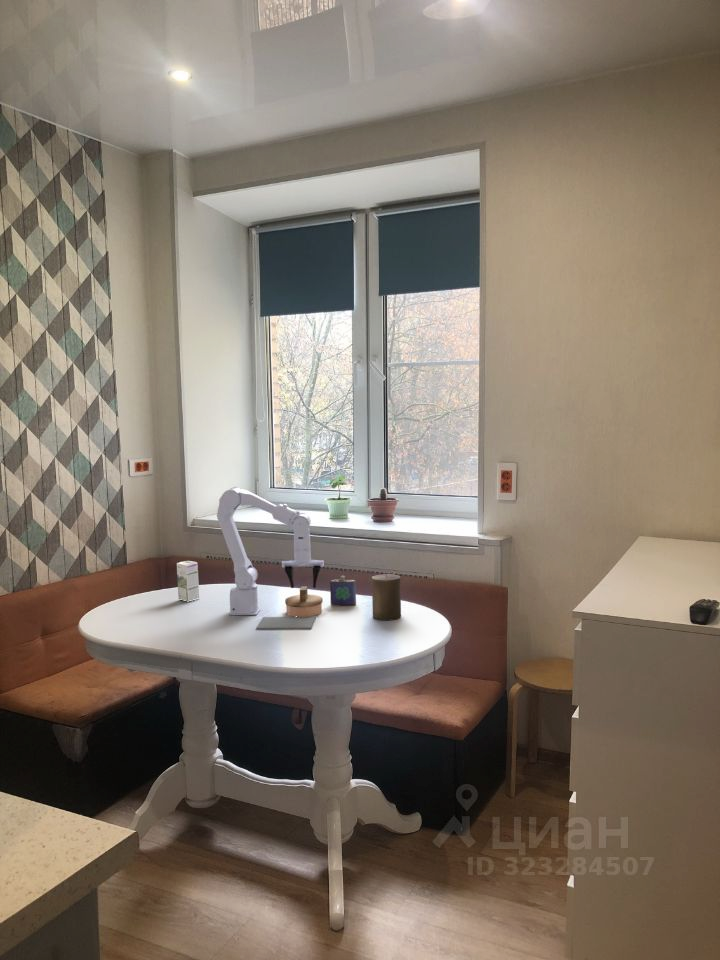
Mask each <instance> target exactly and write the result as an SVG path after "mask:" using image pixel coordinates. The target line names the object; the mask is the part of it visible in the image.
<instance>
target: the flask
mask: <svg viewBox="0 0 720 960" xmlns="http://www.w3.org/2000/svg"><path fill="white" fill-rule="evenodd" d="M345 577H346V576H345V575H341V576H340V578H337V579H336V578H335V579H331V580H330V582H329V584H330V585H329V586H330V587H329V588H330V606H331V607H332V606H334V607H337V606H338V607H343V606H346V607H349V606H351V607H352V606H356V604H357V593H356V591H357V590H356V589H357V588H356V584H357V583H356V580H355V579H347V580H346V579H345Z"/></svg>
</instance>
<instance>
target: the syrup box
mask: <svg viewBox="0 0 720 960" xmlns="http://www.w3.org/2000/svg"><path fill="white" fill-rule="evenodd" d="M198 567H199V565H198V562H197V561H191V560H184V561H180V562H176V574H177V575H176V576H177V593H178V594H177V595H178V600H179V599H182V600H186V601H189V600H193V599H197V598H199V599H200V588H199V587H200V586H199V570H198V569H199V568H198Z"/></svg>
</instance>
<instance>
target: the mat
mask: <svg viewBox="0 0 720 960" xmlns="http://www.w3.org/2000/svg"><path fill="white" fill-rule="evenodd" d="M316 619H317V616H309V617H295V616H263V617H262V618H261V619H260V621H259V623H258V624H257V626H256V628H255V630H256V629H263V630H312V629H313V627H314V624H315V622H316Z"/></svg>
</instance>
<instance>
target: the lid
mask: <svg viewBox="0 0 720 960" xmlns="http://www.w3.org/2000/svg"><path fill="white" fill-rule="evenodd" d="M284 603H285V606H286V605H288V606H292V607H311V606H316V605H319V604H321V603H323V597H322V596H320V595H317V594H308V585H307V586H304V585H303V586H301V587H300V589H299V594H297V595H291V596H289V597H287V598H285V600H284Z"/></svg>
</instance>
